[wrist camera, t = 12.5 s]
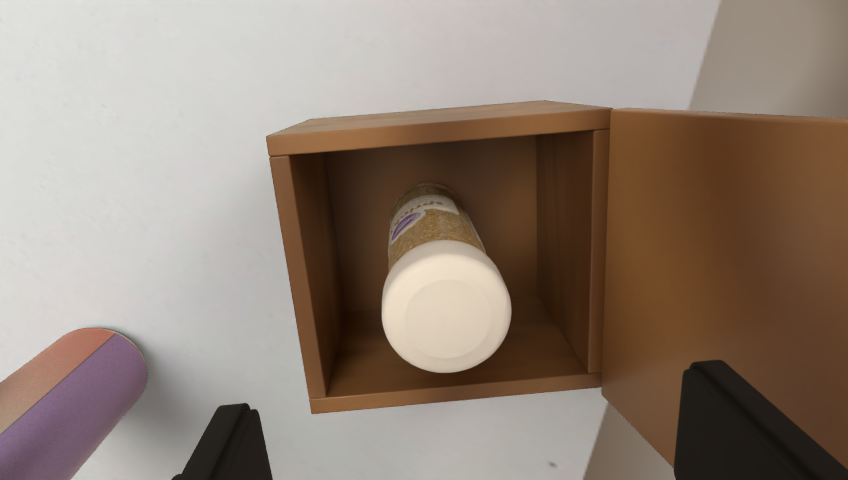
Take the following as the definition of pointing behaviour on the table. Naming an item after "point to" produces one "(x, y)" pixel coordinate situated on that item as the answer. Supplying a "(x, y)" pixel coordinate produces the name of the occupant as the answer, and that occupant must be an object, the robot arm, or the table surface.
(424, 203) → the sprinkles bottle
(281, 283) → the table surface
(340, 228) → the brown wooden open box
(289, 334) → the table surface
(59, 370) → the beverage can
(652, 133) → the wooden box lid
